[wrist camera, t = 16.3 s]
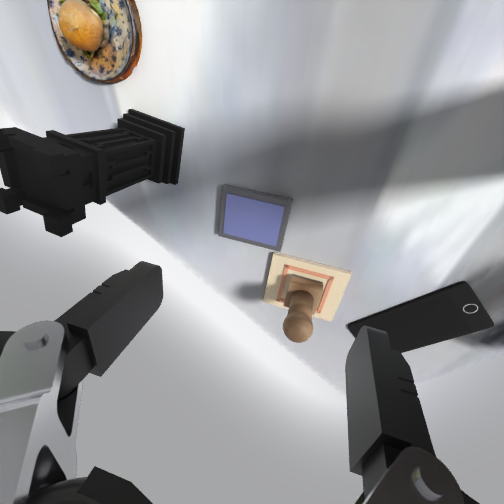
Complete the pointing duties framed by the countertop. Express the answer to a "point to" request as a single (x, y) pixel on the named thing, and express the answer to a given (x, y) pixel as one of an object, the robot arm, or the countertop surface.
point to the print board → (289, 265)
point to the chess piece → (84, 166)
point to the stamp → (301, 307)
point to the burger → (98, 36)
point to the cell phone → (430, 318)
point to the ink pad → (253, 217)
